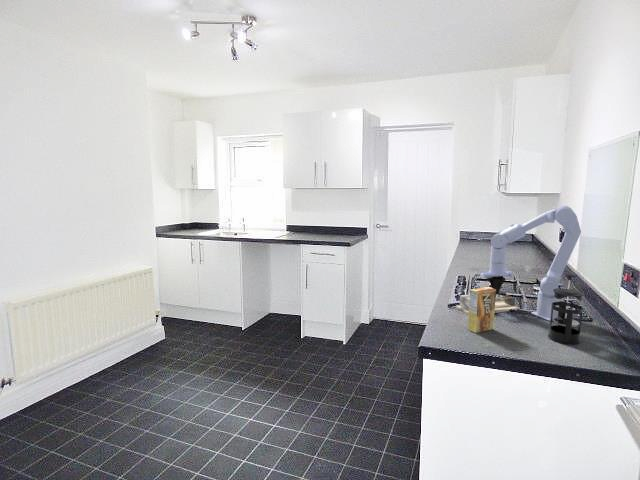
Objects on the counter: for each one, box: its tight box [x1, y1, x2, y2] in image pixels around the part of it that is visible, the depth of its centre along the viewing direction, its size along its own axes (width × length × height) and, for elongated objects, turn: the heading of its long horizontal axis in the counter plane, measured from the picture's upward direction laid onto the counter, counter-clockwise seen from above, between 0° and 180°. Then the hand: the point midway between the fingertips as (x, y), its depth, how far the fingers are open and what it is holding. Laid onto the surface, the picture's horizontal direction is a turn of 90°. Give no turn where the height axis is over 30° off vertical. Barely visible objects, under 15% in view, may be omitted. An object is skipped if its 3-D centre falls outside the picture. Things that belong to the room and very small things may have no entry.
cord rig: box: [455, 294, 521, 315], centre depth 169 cm, size 10×24×6 cm, turn 106°
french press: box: [547, 272, 585, 346], centre depth 136 cm, size 12×9×23 cm
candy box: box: [467, 286, 497, 334], centre depth 145 cm, size 9×4×15 cm, turn 116°
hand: (495, 293), depth 169 cm, fingers closed
